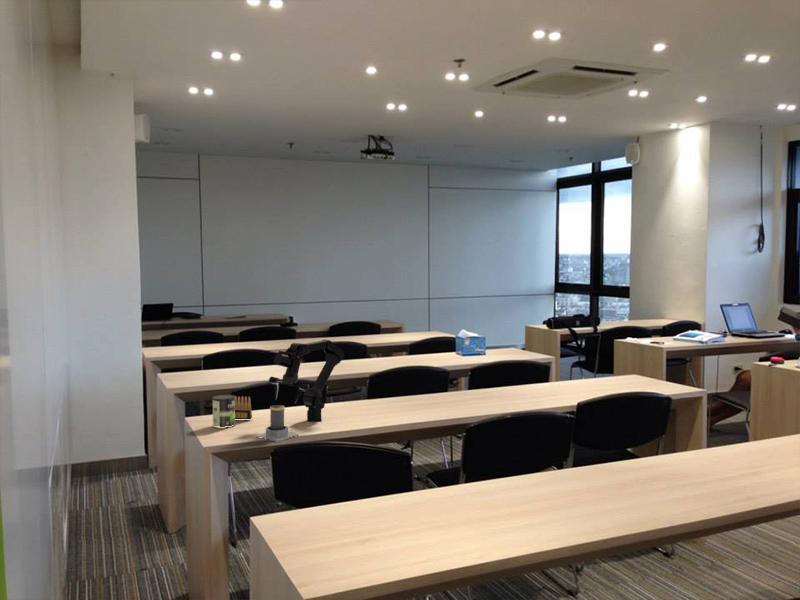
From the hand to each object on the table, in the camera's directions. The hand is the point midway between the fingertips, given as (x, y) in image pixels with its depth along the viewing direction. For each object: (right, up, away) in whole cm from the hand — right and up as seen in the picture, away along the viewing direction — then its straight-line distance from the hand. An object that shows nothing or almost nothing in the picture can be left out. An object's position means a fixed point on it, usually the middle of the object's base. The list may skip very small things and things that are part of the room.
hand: (285, 401), depth 313 cm
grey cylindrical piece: (-1, -12, -16) cm, 20 cm away
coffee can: (-30, -12, +3) cm, 32 cm away
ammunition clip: (-24, -12, +15) cm, 31 cm away
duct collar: (-1, -13, -16) cm, 21 cm away
